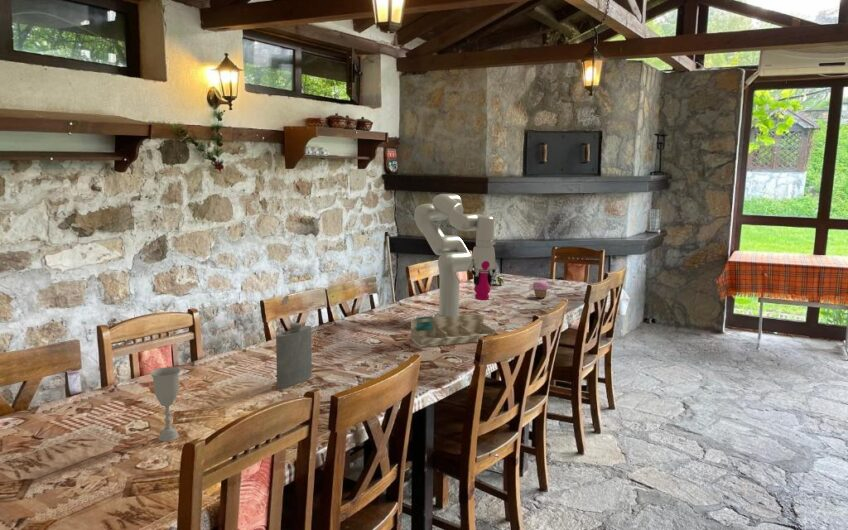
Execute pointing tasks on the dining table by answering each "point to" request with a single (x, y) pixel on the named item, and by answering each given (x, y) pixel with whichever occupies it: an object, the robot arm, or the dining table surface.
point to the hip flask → (293, 356)
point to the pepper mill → (483, 283)
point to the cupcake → (540, 288)
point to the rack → (448, 330)
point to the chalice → (166, 396)
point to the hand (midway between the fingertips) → (482, 283)
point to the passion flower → (496, 278)
